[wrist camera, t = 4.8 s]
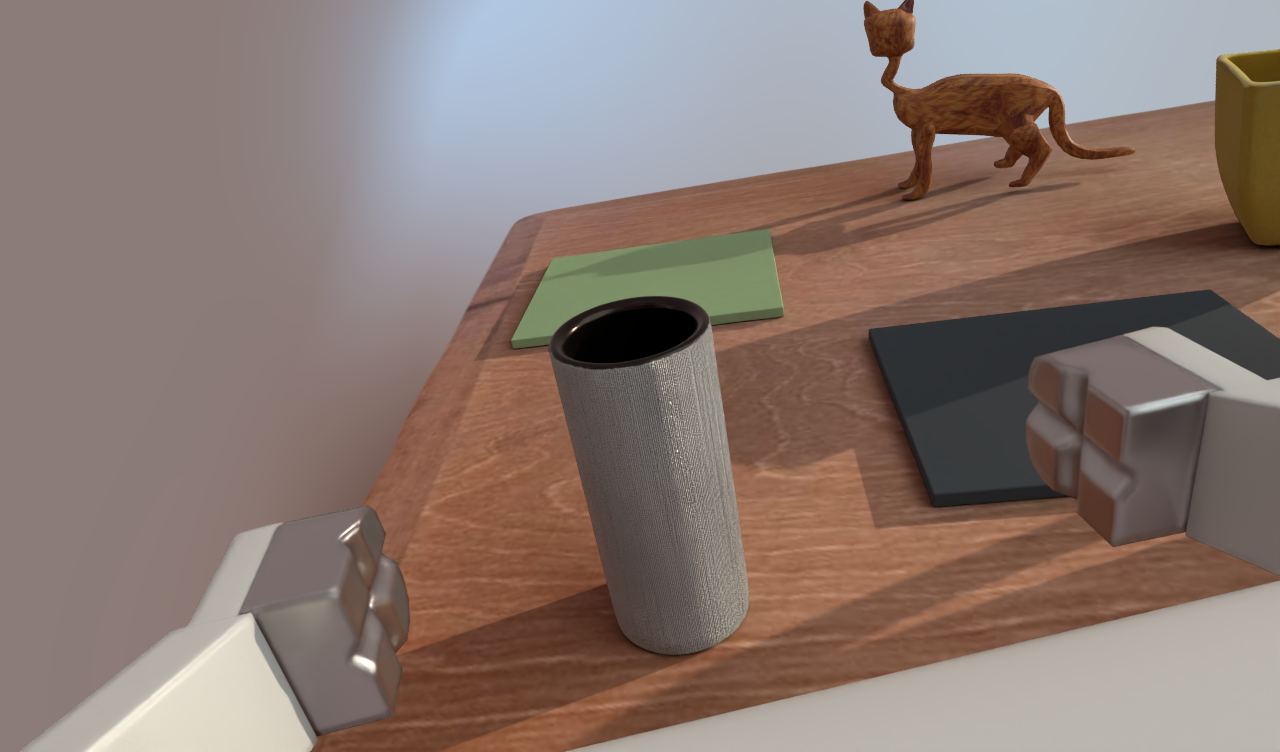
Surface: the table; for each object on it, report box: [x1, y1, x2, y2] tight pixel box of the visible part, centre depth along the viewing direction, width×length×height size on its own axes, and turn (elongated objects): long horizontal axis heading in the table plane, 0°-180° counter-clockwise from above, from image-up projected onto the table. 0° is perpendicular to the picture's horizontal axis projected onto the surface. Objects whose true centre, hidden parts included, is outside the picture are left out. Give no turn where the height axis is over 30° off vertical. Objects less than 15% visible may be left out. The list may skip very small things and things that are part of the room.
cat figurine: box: [864, 0, 1135, 200], centre depth 56 cm, size 18×7×14 cm, turn 79°
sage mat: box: [511, 229, 784, 349], centre depth 53 cm, size 16×14×1 cm
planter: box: [549, 296, 749, 655], centre depth 25 cm, size 4×4×10 cm
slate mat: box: [869, 290, 1280, 507], centre depth 34 cm, size 16×14×1 cm
